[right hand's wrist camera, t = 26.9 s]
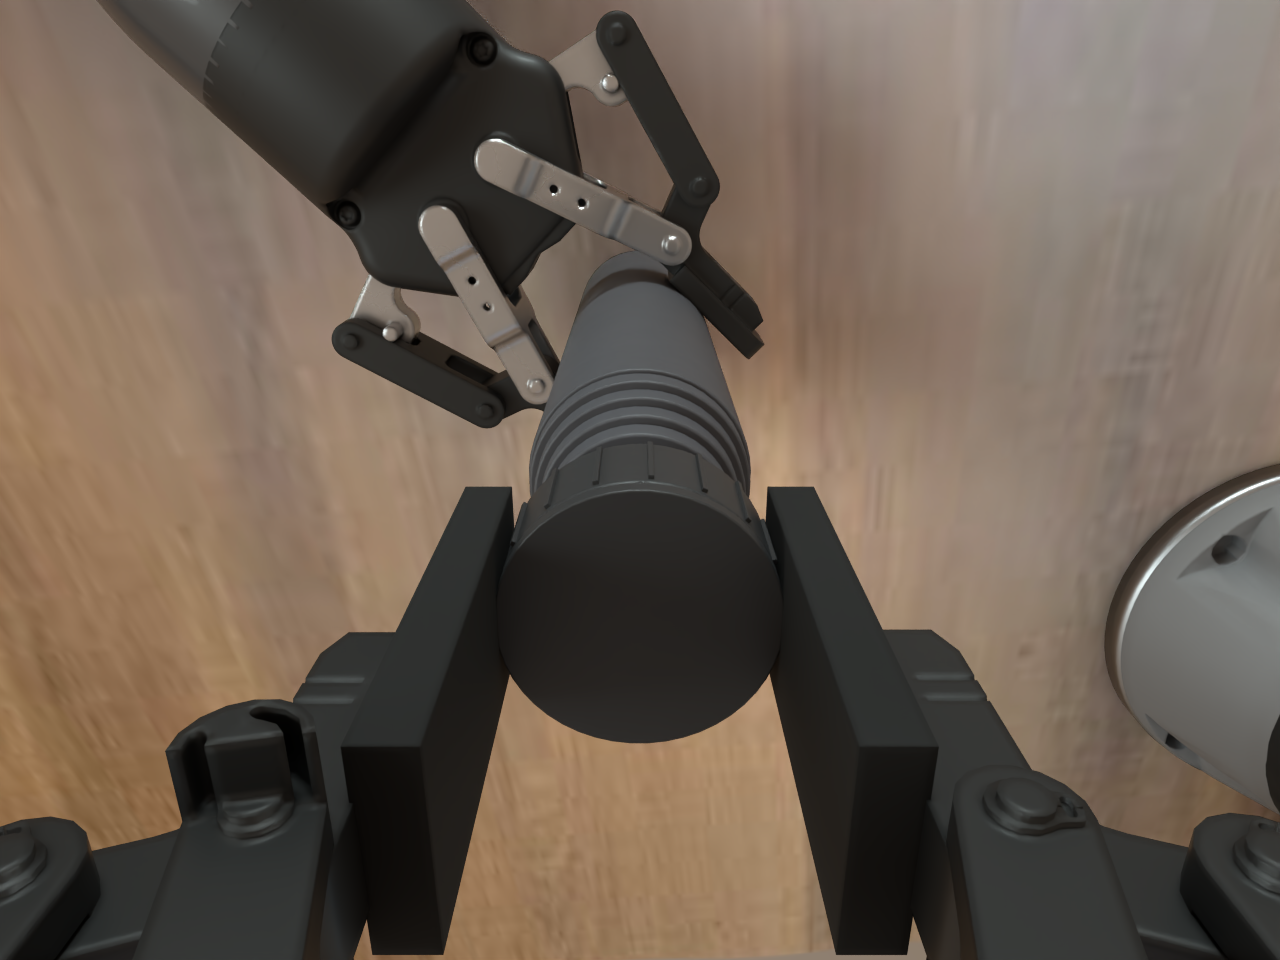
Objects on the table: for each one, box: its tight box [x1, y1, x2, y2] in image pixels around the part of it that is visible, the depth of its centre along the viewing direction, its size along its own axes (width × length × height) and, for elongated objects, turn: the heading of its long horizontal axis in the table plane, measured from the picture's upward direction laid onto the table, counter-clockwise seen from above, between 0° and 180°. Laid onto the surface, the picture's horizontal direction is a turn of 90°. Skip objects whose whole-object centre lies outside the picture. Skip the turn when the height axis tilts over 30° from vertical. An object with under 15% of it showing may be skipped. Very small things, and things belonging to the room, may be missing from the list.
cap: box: [496, 441, 783, 743], centre depth 14 cm, size 4×4×2 cm
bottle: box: [529, 251, 751, 498], centre depth 25 cm, size 5×5×23 cm
